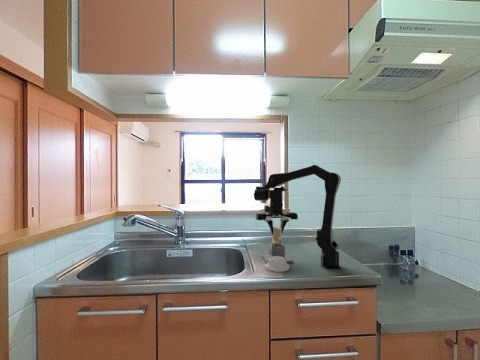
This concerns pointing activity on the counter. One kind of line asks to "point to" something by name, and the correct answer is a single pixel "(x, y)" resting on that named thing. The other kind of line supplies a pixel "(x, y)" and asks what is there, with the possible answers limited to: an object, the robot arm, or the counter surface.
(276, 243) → the birch post
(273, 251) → the metal stand
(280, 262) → the mechanical component
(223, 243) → the counter surface
